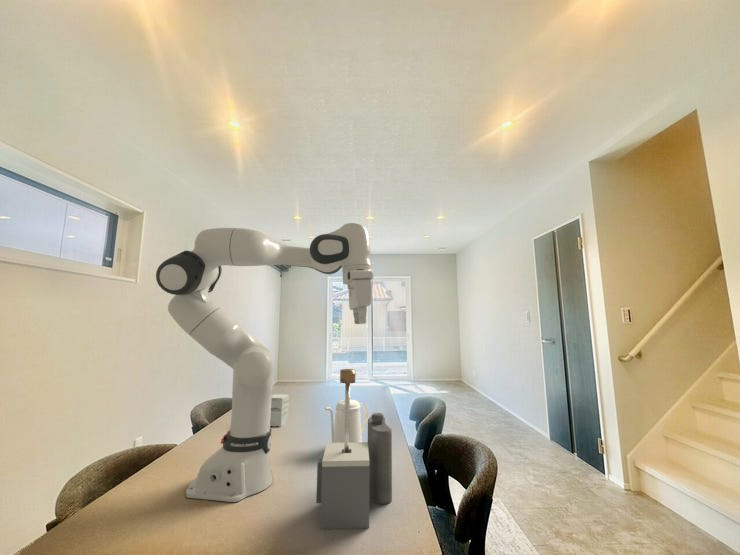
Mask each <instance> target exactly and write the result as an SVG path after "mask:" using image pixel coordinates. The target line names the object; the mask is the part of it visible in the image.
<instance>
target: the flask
mask: <svg viewBox="0 0 740 555" xmlns="http://www.w3.org/2000/svg"><path fill="white" fill-rule="evenodd" d="M392 434H393V433H392V428H391V427H390V426H389V425H387V423H386V418H385V417H384V414H383V413H381V412H373V413H372V414H371V416H369V417H368V421H367V442H368V451H369V497H371V499H372V500H373V501H374V502H375V503H377V504H379V505H387V504H389V503H391V502H392V500H393V467H392V466H393V457H392V456H393V455H392V454H393V453H392V451H393V450H392V449H393V447H392V446H393V445H392V441H393V440H392V437H393V436H392Z"/></svg>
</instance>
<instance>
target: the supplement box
mask: <svg viewBox="0 0 740 555" xmlns="http://www.w3.org/2000/svg"><path fill="white" fill-rule="evenodd" d="M289 398H290V395H289V394H279V393H276V394H275V393H274V394H272V401H271V418H270V427H276V426H279V427H280V428H282V427H283V426H285V425H286V424H287V423H288V418H289V417H288V416H289V404H290V403H289V402H290V401H289V400H290V399H289ZM286 422H287V423H286ZM285 423H286V424H285ZM282 425H283V426H282ZM281 426H282V427H281ZM279 427H278V428H279Z"/></svg>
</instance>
